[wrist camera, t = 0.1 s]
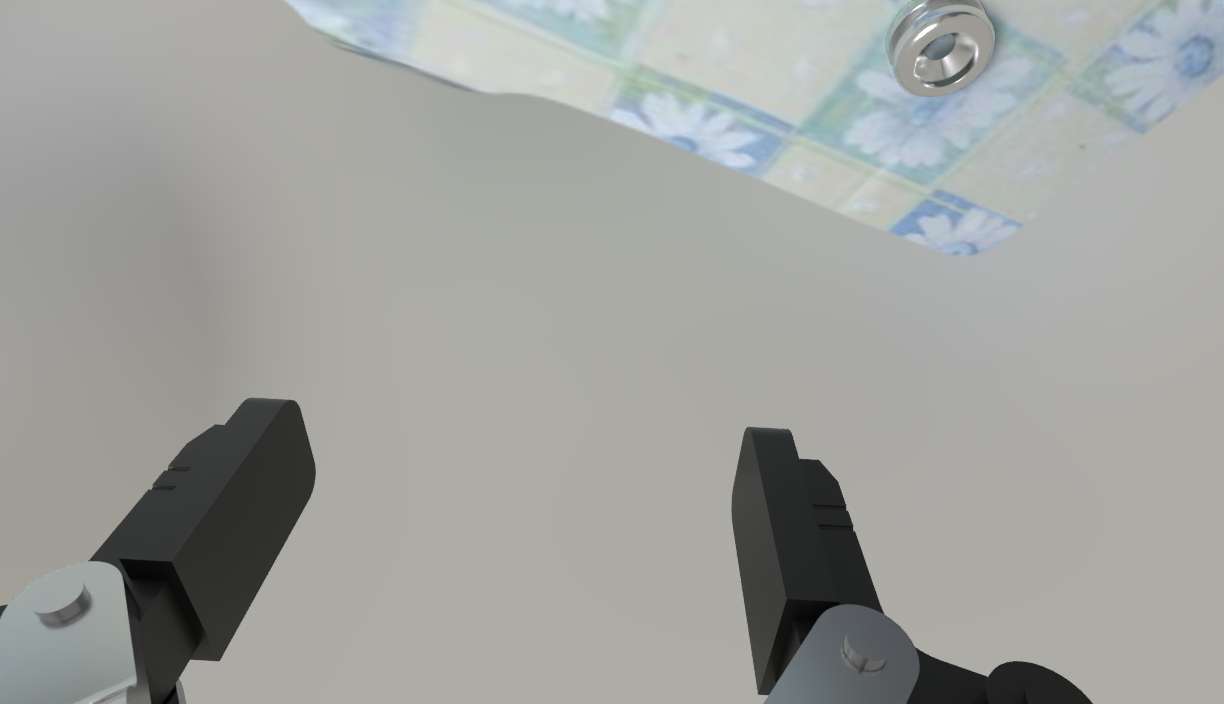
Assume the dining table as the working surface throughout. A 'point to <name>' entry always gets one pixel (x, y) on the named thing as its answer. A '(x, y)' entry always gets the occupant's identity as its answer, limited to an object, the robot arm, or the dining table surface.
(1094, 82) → the dining table surface
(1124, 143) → the dining table surface
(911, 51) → the metal grooved wheel
